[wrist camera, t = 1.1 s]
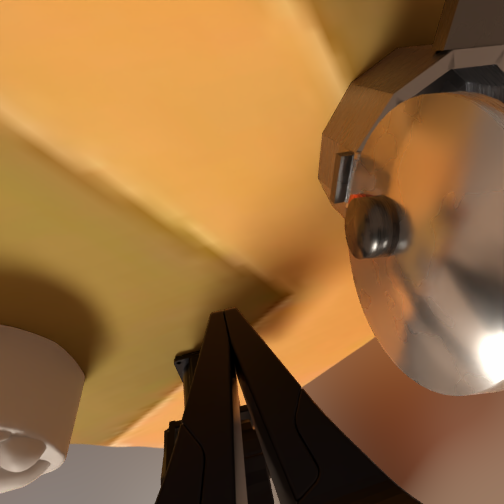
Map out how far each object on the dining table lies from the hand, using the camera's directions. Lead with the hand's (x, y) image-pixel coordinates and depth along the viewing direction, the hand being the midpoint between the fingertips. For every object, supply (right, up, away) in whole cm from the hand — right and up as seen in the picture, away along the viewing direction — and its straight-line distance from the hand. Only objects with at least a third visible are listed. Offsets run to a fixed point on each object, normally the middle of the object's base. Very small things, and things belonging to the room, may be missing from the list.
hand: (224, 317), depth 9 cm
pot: (+12, +10, +11) cm, 19 cm away
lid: (+8, +3, +3) cm, 9 cm away
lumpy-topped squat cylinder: (-21, -8, +16) cm, 28 cm away
